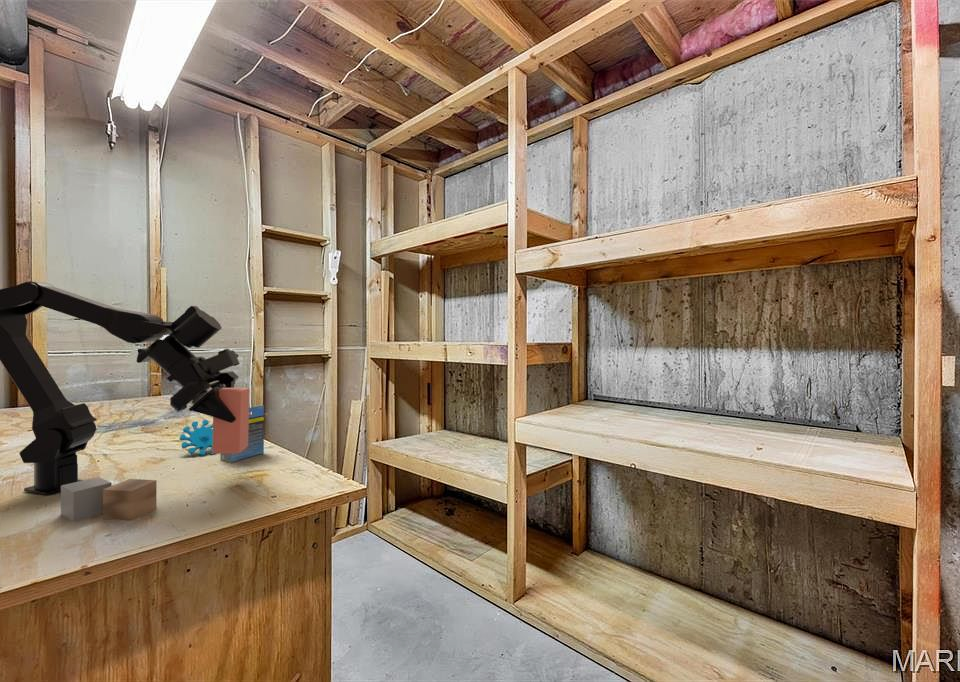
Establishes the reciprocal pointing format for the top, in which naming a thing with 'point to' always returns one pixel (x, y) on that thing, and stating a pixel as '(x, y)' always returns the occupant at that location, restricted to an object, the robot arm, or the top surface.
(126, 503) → the walnut cube
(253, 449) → the label tape cartridge
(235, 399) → the red block
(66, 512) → the gray cube
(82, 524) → the top surface
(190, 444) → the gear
